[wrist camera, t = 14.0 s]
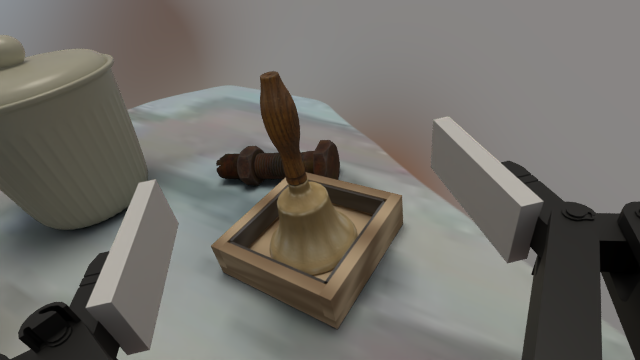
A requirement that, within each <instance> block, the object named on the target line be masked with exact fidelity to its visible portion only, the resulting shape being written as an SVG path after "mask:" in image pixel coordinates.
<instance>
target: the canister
mask: <svg viewBox="0 0 640 360" xmlns="http://www.w3.org/2000/svg"><path fill="white" fill-rule="evenodd" d="M113 63H114V59H113V57H112V56H110V55H107V54H100V53H98V52H96V51H93V50H89V49H68V50H60V51H54V52H48V53H43V54H38V55H34V56H29V57H25V51H24V48H23V46H22V44H21V43H20V42H19V41H18V40H17V39H15V38H13V37H11V36H7V35H0V190H1V191H2V192H3V193H5V194H6V195H7V196H8V197H9V198H10V199H11V200H13V201H14V202H15V203H16V204H17V205H18V206H19V207H21V208H22V209H23V210H24V211H25V212H26V213H28V214H29V215H30V216H31V217H32V218H34V219H35V220H37V221H38V222H40V223H42V224H43V225H45V226H48V227H52V228H55V229H63V230H69V229H72V230H74V229H77V228H84V227H86V226H91V225H93V224H98V223H100V222H101V221H104V220H107V219H108V218H110V217H113V216H114V215H116V214H117V213H120V212H121V211H122V210H124V209H126V208H127V207H128V206H129V205H130V203H131V200H132V198H133V195H134V193H135V191H136V188H137V186H138V184H139V183H141V182H145V181H147V177H148V170H147V165H146V162H145V159H144V156H143V153H142V150H141V147H140V144H139V141H138V138H137V135H136V133H135V130H134V127H133V125H132V122H131V119H130V117H129V114H128V111H127V109H126V106H125V103H124V101H123V98H122V95H121V93H120V90H119V87H118V85H117V82H116V80H115V78H114V75H113V73H112V70H111V67H112V65H113Z"/></svg>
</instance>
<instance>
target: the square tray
mask: <svg viewBox="0 0 640 360" xmlns="http://www.w3.org/2000/svg"><path fill="white" fill-rule="evenodd" d="M306 175H307V178H308V181H309V182H316V183H319V184H321V185H322V186H324V187H325V189H326V190H327V192H328V195H329V198H330V200H331V203H332V205H333V207H334V208H335V210H336V211H339V212H341V213H343V214H344V215H346V216H347V217H348V218H349V219H350V220H351V221H352V222H353V224H354V225H355V227H356V229H357V235H358V236H357V238H356V239H355V241H354V242H353V243H352V245H351V246H350V248H349V249H348V250H347V252H346V253H345V254H344V256H343V257H342V259H341V260H340V261H339V263H338V264H337V266H336V267H335V268H334V269H333V270H331V271H328V272H325V273H321V274H317V275H310V274H308V273H305V272H303V271H301V270H298V269H296V268H294V267H291V266H289V265H287V264H284V263H282V262H279V261H277V260H275V259H272V258H271V255H270V241H271V238H272V235H273V233H274V231H275V230H276V228H277V227H278V226H279V213H278V208H277V200H278V197H279V195H280V194H281V193H282V192H283V191H284V190H285V189H286V188H287V187H289V186H288V183H287V181H286V178H284V179H283V180H282V181H281V182H280V183H279V184H278V185H277V186H276V187H275V188H274V189H272V190H271V191H270V192H269V193H268V194H267V195H266V196H265V197H264V198H263V199H262V200H260V201H259V202H258V203H257V204H256V205H255V206H254V207H253V208H252V209H251V210H250V211H248V212H247V213H246V214H245V215H244V216H243V217H242V218H241V219H240V220H239V221H237V222H236V223H235V224H234V225H233V226H232V227H231V228H230V229H229V230H228V231H227V232H225V233H224V234H223V235H222V236H221V237H220V238H219V239H218V240H217V241H216V242H215V243H213V244H212V245H211V247H212V249H213V252H214V254H215V256H216V258H217V260H218V262H219V264H220V266H221V268H222V270H223V272H224V273H226V274H228V275H230V276H232V277H234V278H236V279H238V280H240V281H242V282H244V283H246V284H248V285H250V286H252V287H254V288H256V289H258V290H260V291H262V292H264V293H266V294H268V295H270V296H272V297H274V298H276V299H278V300H280V301H282V302H284V303H286V304H288V305H290V306H292V307H294V308H296V309H298V310H300V311H302V312H304V313H306V314H308V315H310V316H312V317H314V318H316V319H318V320H320V321H322V322H324V323H326V324H328V325H330V326H332V327H334V328H336V329H338V328H339V326H340V324H341V323H342V321H343V320H344V318H345V316H346V315H347V313H348V312H349V310H350V308H351V307H352V305H353V303H354V302H355V300H356V299H357V297H358V295H359V294H360V292H361V291H362V289H363V287H364V286H365V284H366V283H367V281H368V279H369V278H370V276H371V275H372V273H373V271H374V270H375V268H376V266H377V265H378V263H379V262H380V260H381V258H382V257H383V255H384V254H385V252H386V250H387V249H388V247H389V246H390V244H391V242H392V241H393V239H394V237H395V236H396V234H397V233H398V231H399V229H400V228H401V226H402V225H403V208H402V195H398V194H394V193H390V192H386V191H382V190H377V189H373V188H369V187H365V186H361V185H357V184H352V183H348V182H344V181H340V180H336V179H332V178H327V177H323V176H319V175H315V174H311V173H307V172H306Z"/></svg>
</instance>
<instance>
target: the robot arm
mask: <svg viewBox="0 0 640 360" xmlns="http://www.w3.org/2000/svg"><path fill="white" fill-rule="evenodd" d="M431 168H432V169H433V171H434V172H435V173H436V174H437V176H438V177H439V178H440V179H441V181H442V182H443V183H444V184H445V186H446V187H447V188H448V189H449V191H450V192H451V193H452V194H453V196H454V197H455V198H456V200H457V201H458V202H459V203H460V204H461V206H462V207H463V208H464V209H465V211H466V212H467V213H468V215H469V216H470V217H471V218H472V220H473V221H474V222H475V223H476V225H477V226H478V227H479V228H480V230H481V231H482V232H483V233H484V235H485V236H486V237H487V238H488V240H489V241H490V242H491V243H492V245H493V246H494V247H495V248H496V250H497V251H498V252H499V253H500V255H501V256H502V257H503V258H504V260H505V261H506V262H507V263H511V262H515V261H519V260H523V259H527V257H528V253H529V250H530V247H531V248H532V249H533V250H534V251H535V252H536V254H537V258H536V262H535V265H534V268H533V271H532V274H531V275H534V276H533V283H532V290H531V297H530V304H529V311H528V318H527V325H526V332H525V339H524V346H523V353H522V360H602V335H601V290H600V272H601V273H602V276H603V279H604V281H605V284H606V286H607V289H608V291H609V294H610V296H611V299H612V301H613V304H614V306H615V309H616V312H617V314H618V317H619V319H620V322H621V324H622V327H623V330H624V332H625V335H626V337H627V340H628V342H629V345H630V347H631V350H632V352H633V355H634V358H635V360H640V202H631V203H628V204H626V205H625V206H624V207H623V209H622V211H621V213H620V214H610V213H608V214H607V213H595V212H594V211H593V210H592V209H590V208H588V207H587V206H585V205H582V204H579V203H575V202H564V201H563V200H562V199H561V198H559V197H558V196H557V195H556V194H555V193H553V192H552V191H551V190H550V189H549V188H547V187H546V186H545V185H544V184H543V183H541V182H540V181H538V179H537V178H536V177H534V176H533V175H531V173H530V172H528V171H527V170H526V169H525V168H524V167H522V166H520V165H518V164H516V163H513V162H511V161H506V162H501V163H500V162H499V161H498V160H497V159H496V158H495V157H493V156H492V155H491V154H490V153H489V152H488V151H487V150H486V149H485V148H483V147H482V146H481V145H480V144H479V143H478V142H477V141H476V140H474V139H473V138H472V137H471V136H470V135H469V134H468V133H467V132H466V131H464V130H463V129H462V128H461V127H460V126H459V125H458V124H457V123H455V122H454V121H453V120H452V119H451V118H450V117H449V116H448V117H443V118H439V119H434V120H433V134H432V155H431ZM178 224H179V223H178V221H177V219H176V218H175V216H174V214H173V212H172V210H171V208H170V206H169V204H168V202H167V200H166V198H165V196H164V194H163V192H162V190H161V188H160V186H159V184H158V182H157V180H156V179H155V180H150V181H145V182H141V183H139V184H138V186H137V188H136V191H135V193H134V195H133V198H132V200H131V203H130V205H129V207H128V210H127V212H126V214H125V217H124V219H123V221H122V224H121V226H120V228H119V231H118V233H117V235H116V238H115V240H114V242H113V245H112V247H111V249H110V251H108V252H104V253H100V254H98V256H97V257H96V258H95V259H94V260H93V261H92V262H91V263H90V264H89V266H88V268H87V271H86V273H85V275H84V278H83V279H82V281H81V283H80V285H79V286H80V288H78V290H77V292H76V294H75V296H74V298H73V300H72V302H71V305H70V307H68V306H67V305H66V304H65V303H63V302H54V303H50V304H47V305H45V306H43V307H41V308H40V309H38V310H36V311H35V312H34V313H33V314H31V315H30V316H29V317H28V318H27V319H26V320H25V322H24V323H23V324H22V326H21V328H20V330H19V332H18V334H19V339H20V340H21V341H22V342H23V343H25V344H26V345H27V346H28V347H29V348H30V349H31V350H29V351H27V352H25V353H23V354H21V355H18V356H16V357H14V358H12V359H9V358H8V357H6V356H5V355H3V354H0V360H118V359H117V358H116V357H117V353H118V350H119V347H121V348H122V350H123V351H124V352H125V353H126V354H127V355H130V354H134V353H138V352H142V351H147V350H150V346H151V342H152V338H153V333H154V329H155V324H156V320H157V316H158V311H159V307H160V303H161V298H162V294H163V290H164V285H165V281H166V276H167V272H168V268H169V263H170V259H171V255H172V250H173V246H174V242H175V237H176V233H177V228H178Z"/></svg>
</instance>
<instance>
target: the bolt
mask: <svg viewBox="0 0 640 360" xmlns="http://www.w3.org/2000/svg"><path fill="white" fill-rule="evenodd" d="M300 155H301V159H302V162H303V165H304V168H305V172H307V173H311V174H315V175H319V176H323V177H327V178H332V179H336V180H338V177H339V169H340V162H339V154H338V150H337V147H336V145H335V144H334V143H333V142H331V141H330V140H320V142H319V144H318V146H317V148H316V149H315V151H307V152H302V153H301V152H300ZM216 164H217V166H218V165H221V166H219V167H218V168H217V169H216V170H217V172H218V174H219V176H220V177H222V178H225V179H241V181H242V182H244V183H245V184H247V185H255V186H258V185H259V184H261V183H262V182H263V180H264V179H284V178H286V175H285V172H284V167H283V163H282V159H281V156H280V154H279V153H264V152H263V150H261V149H260V148H258V147H257V146H248V147H246V148H245V149H243V150H242V151H241V152H240V154H225V155H224V156H223V157H221V158H220V160H217V163H216Z"/></svg>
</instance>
